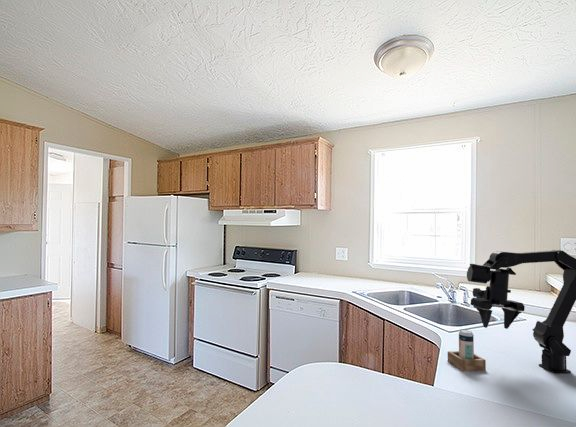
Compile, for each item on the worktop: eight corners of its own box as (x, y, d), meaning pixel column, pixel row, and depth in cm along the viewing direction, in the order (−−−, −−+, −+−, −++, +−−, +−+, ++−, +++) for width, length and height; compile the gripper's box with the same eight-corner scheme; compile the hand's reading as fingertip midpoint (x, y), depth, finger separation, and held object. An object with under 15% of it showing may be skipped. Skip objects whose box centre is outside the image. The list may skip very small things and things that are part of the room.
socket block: (469, 360, 118) (468, 350, 118) (485, 370, 109) (485, 359, 110) (447, 361, 117) (447, 351, 117) (462, 371, 108) (462, 360, 109)
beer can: (465, 362, 116) (464, 328, 117) (477, 367, 112) (476, 332, 113) (455, 363, 114) (455, 330, 115) (467, 369, 110) (467, 334, 111)
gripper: (500, 282, 127) (497, 322, 126) (460, 279, 123) (457, 320, 122) (527, 288, 116) (524, 331, 115) (484, 285, 112) (481, 329, 111)
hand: (495, 327), depth 116 cm, fingers open, 9 cm apart
